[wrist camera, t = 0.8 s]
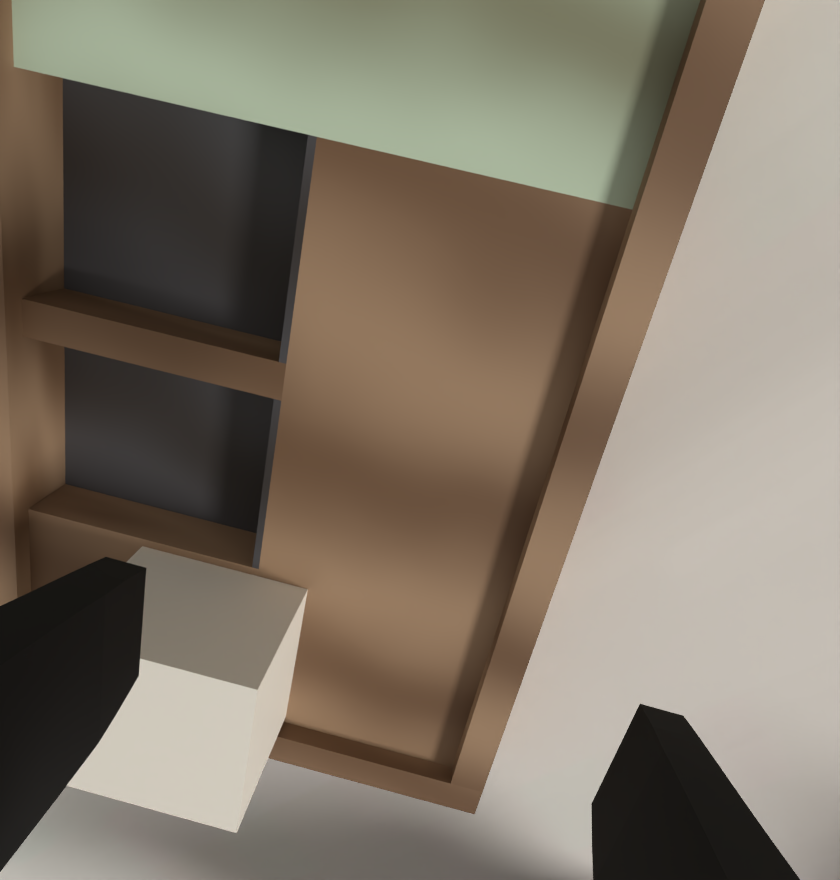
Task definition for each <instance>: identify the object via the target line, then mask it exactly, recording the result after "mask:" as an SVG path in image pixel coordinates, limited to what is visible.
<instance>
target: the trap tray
mask: <svg viewBox="0 0 840 880" xmlns="http://www.w3.org/2000/svg"><path fill="white" fill-rule="evenodd" d="M764 1H765V0H0V606H1V605H3V604H6V603H8V602H10V601H12V600H14V599H16V598H18V597H21V596H23V595H25V594H27V593H29V592H31V591H33V590H35V589H37V588H39V587H42V586H44V585H46V584H48V583H50V582H52V581H54V580H56V579H58V578H60V577H63V576H65V575H67V574H69V573H71V572H73V571H75V570H77V569H80V568H82V567H84V566H86V565H88V564H90V563H93V562H95V561H97V560H100V559H102V558H104V557H109V558H113V559H116V560H120V561H124V562H127V561H128V560H129V559H130V558H131V557H132V556H133V555H134V554H135V553H136V552H137V551H138V550H139V549H140V548H141V547H142V546H144V547H147V548H151V549H155V550H159V551H163V552H167V553H170V554H174V555H178V556H182V557H186V558H190V559H193V560H197V561H201V562H205V563H209V564H213V565H216V566H220V567H224V568H228V569H232V570H236V571H239V572H243V573H247V574H251V575H255V576H259V577H262V578H266V579H270V580H274V581H278V582H282V583H285V584H289V585H293V586H297V587H301V588H305V589H308V591H307V597H306V603H305V609H304V614H303V620H302V626H301V632H300V637H299V643H298V649H297V655H296V661H295V666H294V672H293V678H292V684H291V689H290V695H289V701H288V707H287V713H286V717H285V720H284V722H283V724H282V727H281V729H280V731H279V734H278V736H277V739H276V741H275V743H274V746H273V748H272V750H271V753H270V755H269V758H270V759H274V760H278V761H281V762H285V763H289V764H292V765H296V766H300V767H303V768H307V769H311V770H314V771H318V772H322V773H325V774H329V775H333V776H336V777H340V778H344V779H347V780H351V781H355V782H358V783H362V784H366V785H369V786H373V787H377V788H380V789H384V790H388V791H391V792H395V793H399V794H402V795H406V796H410V797H413V798H417V799H421V800H424V801H428V802H432V803H435V804H439V805H443V806H446V807H450V808H454V809H457V810H461V811H465V812H468V813H472V814H475V811H476V808H477V806H478V803H479V800H480V797H481V794H482V792H483V789H484V786H485V783H486V780H487V778H488V775H489V772H490V769H491V766H492V764H493V761H494V758H495V755H496V752H497V749H498V747H499V744H500V741H501V738H502V735H503V733H504V730H505V727H506V724H507V721H508V719H509V716H510V713H511V710H512V707H513V705H514V702H515V699H516V696H517V693H518V691H519V688H520V685H521V682H522V679H523V677H524V674H525V671H526V668H527V665H528V663H529V660H530V657H531V654H532V651H533V649H534V646H535V643H536V640H537V637H538V635H539V632H540V629H541V626H542V623H543V621H544V618H545V615H546V612H547V609H548V607H549V604H550V601H551V598H552V595H553V592H554V590H555V587H556V584H557V581H558V578H559V576H560V573H561V570H562V567H563V564H564V562H565V559H566V556H567V553H568V550H569V548H570V545H571V542H572V539H573V536H574V534H575V531H576V528H577V525H578V522H579V520H580V517H581V514H582V511H583V508H584V506H585V503H586V500H587V497H588V494H589V492H590V489H591V486H592V483H593V480H594V478H595V475H596V472H597V469H598V466H599V464H600V461H601V458H602V455H603V452H604V450H605V447H606V444H607V441H608V438H609V436H610V433H611V430H612V427H613V424H614V421H615V419H616V416H617V413H618V410H619V407H620V405H621V402H622V399H623V396H624V393H625V391H626V388H627V385H628V382H629V379H630V377H631V374H632V371H633V368H634V365H635V363H636V360H637V357H638V354H639V351H640V349H641V346H642V343H643V340H644V337H645V335H646V332H647V329H648V326H649V323H650V321H651V318H652V315H653V312H654V309H655V307H656V304H657V301H658V298H659V295H660V293H661V290H662V287H663V284H664V281H665V279H666V276H667V273H668V270H669V267H670V265H671V262H672V259H673V256H674V253H675V250H676V248H677V245H678V242H679V239H680V236H681V234H682V231H683V228H684V225H685V222H686V220H687V217H688V214H689V211H690V208H691V206H692V203H693V200H694V197H695V194H696V192H697V189H698V186H699V183H700V180H701V178H702V175H703V172H704V169H705V166H706V164H707V161H708V158H709V155H710V152H711V150H712V147H713V144H714V141H715V138H716V136H717V133H718V130H719V127H720V124H721V122H722V119H723V116H724V113H725V110H726V108H727V105H728V102H729V99H730V96H731V93H732V91H733V88H734V85H735V82H736V79H737V77H738V74H739V71H740V68H741V65H742V63H743V60H744V57H745V54H746V51H747V49H748V46H749V43H750V40H751V37H752V35H753V32H754V29H755V26H756V23H757V21H758V18H759V15H760V12H761V9H762V7H763V4H764Z"/></svg>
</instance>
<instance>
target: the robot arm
mask: <svg viewBox="0 0 840 880" xmlns="http://www.w3.org/2000/svg"><path fill="white" fill-rule="evenodd" d="M145 580H146V568H145V567H142V566H138V565H134V564H131V563H127V562H124V561H120V560H116V559H113V558H109V557H104V558H102V559H100V560H97V561H95V562H93V563H90V564H88V565H86V566H84V567H82V568H80V569H77V570H75V571H73V572H71V573H69V574H67V575H65V576H63V577H60V578H58V579H56V580H54V581H52V582H50V583H48V584H46V585H44V586H42V587H39V588H37V589H35V590H33V591H31V592H29V593H27V594H25V595H23V596H21V597H18V598H16V599H14V600H12V601H10V602H8V603H6V604H3V605H1V606H0V872H1V870H2V869H3V868H4V866H5V865H6V864H7V862H8V861H9V860H10V858H11V857H12V856H13V855H14V853H15V852H16V851H17V849H18V848H19V847H20V845H21V844H22V843H23V842H24V840H25V839H26V838H27V836H28V835H29V834H30V832H31V831H32V830H33V829H34V827H35V826H36V825H37V823H38V822H39V821H40V819H41V818H42V817H43V816H44V814H45V813H46V812H47V810H48V809H49V808H50V806H51V805H52V804H53V803H54V801H55V800H56V799H57V797H58V796H59V795H60V793H61V792H62V791H63V789H64V788H65V787H66V786H67V784H68V783H69V782H70V780H71V779H72V778H73V776H74V775H75V774H76V772H77V771H78V770H79V768H80V767H81V766H82V764H83V763H84V762H85V760H86V759H87V758H88V756H89V755H90V754H91V752H92V751H93V750H94V748H95V747H96V746H97V744H98V743H99V742H100V740H101V738H102V737H103V735H104V734H105V732H106V730H107V729H108V727H109V725H110V724H111V722H112V721H113V719H114V717H115V716H116V714H117V712H118V711H119V709H120V707H121V706H122V704H123V702H124V700H125V699H126V697H127V695H128V694H129V692H130V690H131V688H132V687H133V685H134V683H135V682H136V680H137V678H138V677H139V665H140V651H141V637H142V623H143V609H144V595H145ZM592 854H593V880H800V879H799V878H798V876H797V875H796V873H795V872H794V871H793V869H792V868H791V867H790V865H789V864H788V863H787V861H786V860H785V858H784V857H783V856H782V854H781V853H780V851H779V850H778V849H777V847H776V846H775V845H774V843H773V842H772V840H771V839H770V838H769V836H768V835H767V833H766V832H765V831H764V829H763V828H762V826H761V825H760V824H759V822H758V821H757V819H756V818H755V817H754V815H753V814H752V812H751V811H750V809H749V808H748V807H747V805H746V804H745V802H744V801H743V799H742V798H741V797H740V795H739V794H738V792H737V791H736V789H735V788H734V787H733V785H732V784H731V782H730V781H729V779H728V778H727V777H726V775H725V774H724V772H723V771H722V769H721V768H720V766H719V765H718V764H717V762H716V761H715V759H714V758H713V756H712V755H711V754H710V752H709V751H708V749H707V748H706V746H705V745H704V744H703V742H702V741H701V739H700V738H699V737H698V735H697V734H696V732H695V731H694V730H693V728H692V727H691V726H690V724H689V723H688V722H687V720H686V719H685V718H684V716H682V715H678V714H675V713H671V712H667V711H664V710H660V709H657V708H653V707H649V706H646V705H642V704H640V705H639V707H638V709H637V711H636V713H635V715H634V717H633V719H632V722H631V724H630V726H629V728H628V730H627V732H626V734H625V736H624V738H623V740H622V742H621V744H620V746H619V748H618V751H617V753H616V755H615V757H614V759H613V761H612V763H611V765H610V767H609V769H608V771H607V773H606V775H605V777H604V779H603V782H602V784H601V786H600V788H599V790H598V792H597V794H596V796H595V798H594V800H593V802H592Z"/></svg>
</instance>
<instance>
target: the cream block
mask: <svg viewBox="0 0 840 880" xmlns="http://www.w3.org/2000/svg"><path fill="white" fill-rule="evenodd" d="M127 563H131V564H134V565H138V566H142V567H145V568H146V580H145V595H144V609H143V623H142V637H141V651H140V665H139V677H138V678H137V680H136V682H135V683H134V685H133V687H132V688H131V690H130V692H129V694H128V695H127V697H126V699H125V700H124V702H123V704H122V706H121V707H120V709H119V711H118V712H117V714H116V716H115V717H114V719H113V721H112V722H111V724H110V725H109V727H108V729H107V730H106V732H105V734H104V735H103V737H102V738H101V740H100V742H99V743H98V744H97V746H96V747H95V748H94V750H93V751H92V752H91V754H90V755H89V756H88V758H87V759H86V760H85V762H84V763H83V764H82V766H81V767H80V768H79V770H78V771H77V772H76V774H75V775H74V776H73V778H72V779H71V780H70V782H69V783H68V784H67V786H69V787H72V788H76V789H80V790H83V791H87V792H90V793H94V794H98V795H101V796H105V797H108V798H112V799H116V800H119V801H123V802H126V803H130V804H134V805H137V806H141V807H144V808H148V809H152V810H155V811H159V812H162V813H166V814H170V815H173V816H177V817H180V818H184V819H187V820H191V821H195V822H198V823H202V824H205V825H209V826H213V827H216V828H220V829H223V830H227V831H231V832H234V833H237V831H238V829H239V826H240V824H241V821H242V819H243V817H244V814H245V812H246V810H247V807H248V805H249V803H250V800H251V798H252V795H253V793H254V791H255V788H256V786H257V784H258V781H259V779H260V776H261V774H262V772H263V769H264V767H265V765H266V762H267V760H268V758H269V755H270V753H271V750H272V748H273V746H274V743H275V741H276V739H277V736H278V734H279V731H280V729H281V727H282V724H283V722H284V720H285V717H286V713H287V707H288V701H289V695H290V689H291V684H292V678H293V672H294V666H295V661H296V655H297V649H298V643H299V637H300V632H301V626H302V620H303V614H304V609H305V603H306V597H307V591H308V589H305V588H301V587H297V586H293V585H289V584H285V583H282V582H278V581H274V580H270V579H266V578H262V577H259V576H255V575H251V574H247V573H243V572H239V571H236V570H232V569H228V568H224V567H220V566H216V565H213V564H209V563H205V562H201V561H197V560H193V559H190V558H186V557H182V556H178V555H174V554H170V553H167V552H163V551H159V550H155V549H151V548H147V547H144V546H142V547H141V548H140V549H139V550H138V551H137V552H136V553H135V554H134V555H133V556H132V557H131V558H130V559H129V560H128V561H127Z"/></svg>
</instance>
